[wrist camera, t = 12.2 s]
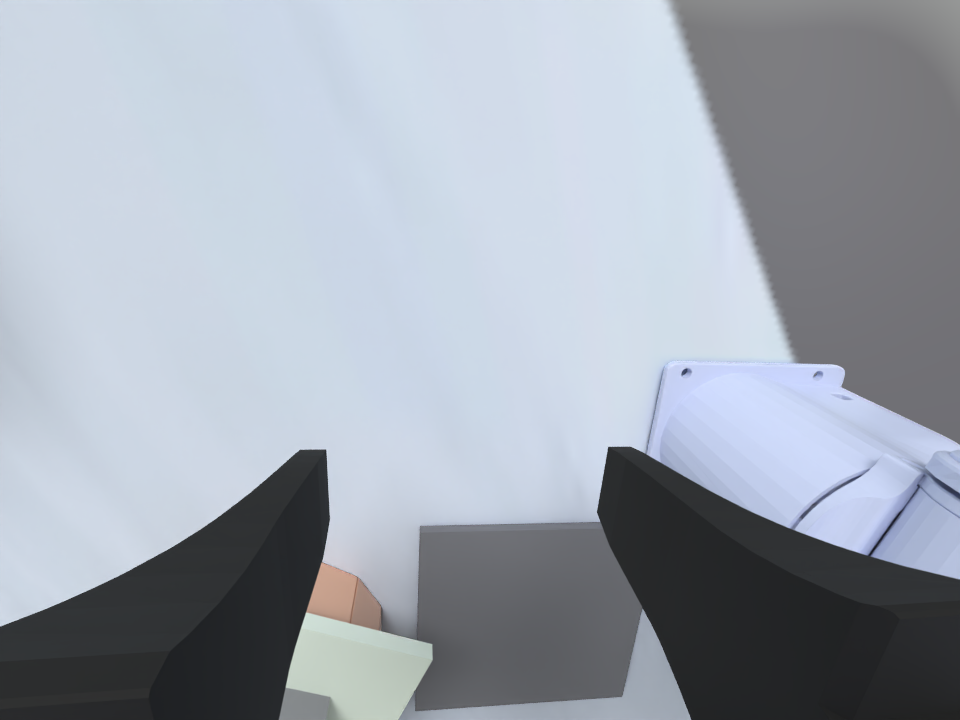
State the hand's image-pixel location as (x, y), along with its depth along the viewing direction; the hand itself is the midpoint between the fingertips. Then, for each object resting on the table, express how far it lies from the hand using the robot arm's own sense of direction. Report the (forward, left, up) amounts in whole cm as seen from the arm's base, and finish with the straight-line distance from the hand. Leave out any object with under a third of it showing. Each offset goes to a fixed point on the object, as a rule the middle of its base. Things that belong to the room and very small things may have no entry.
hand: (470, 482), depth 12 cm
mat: (-5, +16, -10) cm, 20 cm away
